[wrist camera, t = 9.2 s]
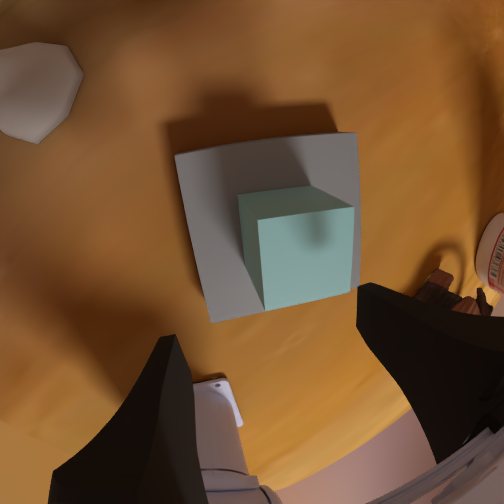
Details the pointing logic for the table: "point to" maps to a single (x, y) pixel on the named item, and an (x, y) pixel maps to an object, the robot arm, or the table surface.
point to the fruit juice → (492, 255)
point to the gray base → (255, 180)
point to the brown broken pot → (452, 296)
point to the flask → (36, 89)
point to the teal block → (296, 244)
